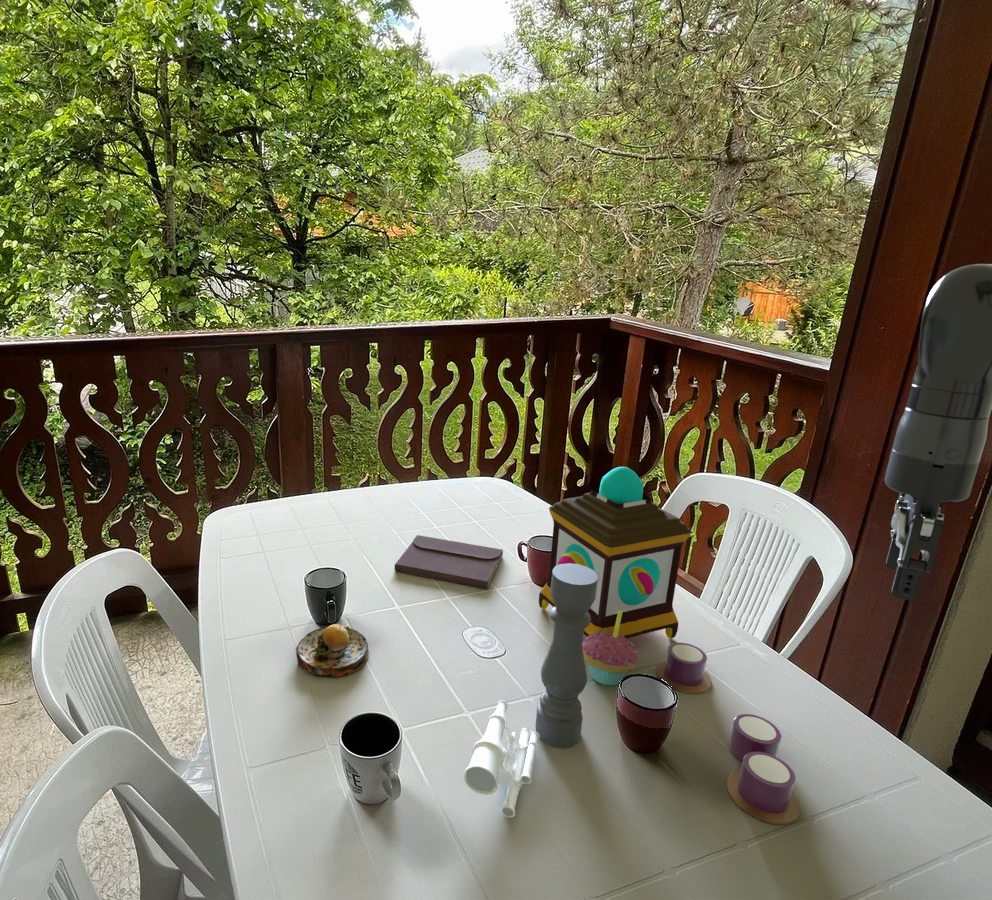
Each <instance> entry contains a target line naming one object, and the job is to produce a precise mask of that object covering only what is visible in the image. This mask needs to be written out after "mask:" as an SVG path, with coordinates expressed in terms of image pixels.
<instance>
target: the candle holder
mask: <svg viewBox="0 0 992 900" xmlns="http://www.w3.org/2000/svg"><path fill="white" fill-rule="evenodd" d="M597 581H598V576H597V573H595V572H594V571H593V570H592V569H590V568H588V567H586V566H583V565H579V564H572V563H566V564H560V565H557V566H555V567H554V569H553V570H552V580H551V590H550V592H551V596H552V600H553V602H554V604H555V607H553V606H552V608H551V609H550V610H549V614H550V620H551V621H552V622H553V633H552V640H551V642H550V645H549V648H548V650H547V653H546V656H545V658H544V660H543V663H542V666H541V668H540V677H541V682H542V684H543V686H544V688H545V691H544V692H543V693H542V694H541V695H540V697H539V703H538V704H537V707H536V714H535V715H536V716H535V725H534V726H535V732H538V733H539V735H540V738H539V740H542V741H543V742H544V743H545V744H546V745H549V746H551V747H553V748H559V749H560V748H561V749H566V748H567V749H568V748H572V747H574V746H575V745H577V744H578V743H579V742H580V739H581V734H582V726H583V719H584V717H583V713H582V710H583V707H582V703H581V701H580V699H579V698H578V697H579V695H581V694H582V693H583V691H584V689H585V688H586V685H587V683H588V675H587V668H586V661H585V660H584V654H583V647H582V645H583V640H584V636H585V635H584V629H585V627H587V626H588V625H589V623H590V622H591V617H590V614H589V613H588V612H587V611H588V609H590V608H591V606H592V604H593V602H594V601H595V598H596V589H597Z"/></svg>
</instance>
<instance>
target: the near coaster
mask: <svg viewBox="0 0 992 900" xmlns="http://www.w3.org/2000/svg"><path fill="white" fill-rule="evenodd" d="M740 771H741V769H738V770H735V771H733V772H731V773H730V774H729V775H728V776H727V779H726V791H727V793H728V795H729V797H730V799H731V800H732V801H733V803H735V804H736V806H737V807H738V808H739V809H741V810H742V811H743V812H745V813H746V814H747V815H749V816H751V817H753V818H755V819H757V820H758V821H761V822H764V823H767V824H772V825H779V826H781V825H782V826H783V825H789V824H792V823H794V822H796V821H797V820H798V819H799V817H800V813H801V805H800V802H799V799H798V798H797V796H796V795H795V793H794V792H793V791H792V795H791V799H790V803H789V807H788V809H787V810H786V811H784V812H782V813H769V812H765V811H762V810H760V809H758V808H756V807H754V806H752V805H751V804H750V803H748V802H747V801H746V800H745V799H744V798H743V797H742V796H741V794H740V792H739V790H738V780H739V776H740Z"/></svg>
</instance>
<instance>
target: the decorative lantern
mask: <svg viewBox="0 0 992 900" xmlns="http://www.w3.org/2000/svg"><path fill="white" fill-rule="evenodd" d="M548 511H549V514H550V516H551V518H552V522H553V529H552V538H551V539H552V540H551V549H550V560H549V570H548V571H549V572H548V579H547V582H546V583H545V584H544V586H543V587H542V588H541V590H540V592H539V595H538V605H539V608H540V609H542V610H546V609H547V608H548V606H549V605H550V606H551V607H552V608H553V607H555V604H554V602H553V600H552V596H551V592H550V590H551V580H552V570H553V569H554V567H555V566H557V565H560V564H566V563H572V564H579V565H583V566H586V567H588V568H590V569H592V570H593V571H594V572H595V573H597V576H598V581H597V589H596V598H595V601H594V602H593V604H592V606H591V608H590V609H588V611H587V612H588V613H589V614H590V617H591V622H590V623H589V625H588V626H587V627H585V629H584V635H583V636H585V637H586V638H587V637H588V636H590V634H593V633H595V632H600V631H601V632H602V631H605V632H614V629H615V624H616V619H617V614H618V610H620V608H621V606H622V610H621V611H622V617H621V622H620V627H619V631H618V634H621V635H622V636H625V638H627V639H630V638H634V637H638V636H641V635H645V634H650V633H653V632H654V633H655V632H658V631H661V630H665V636H666V637H667V638H668V639H674V638H675V637H676V636H677V633H678V629H679V620H678V618H677V615H676V613H675V611H674V607H673V603H674V597H675V591H676V585H677V579H678V573H679V566H680V560H681V555H682V548H683V546H684V543H685V542H687V539H689V537H690V536H691V534H692V529H690V528H689V527H688V525H687V524H686V523H685V522H683V521H681V520H680V518H679V517H678V516H676V515H674V514H672V513H671V512H668V511H666V510H664V509H662V508H660V507H658V505H657V504H656V503H654V502H652V498H651V497H649V496H647V495H645V494H644V484H643V480H642V479H641V478H640V477H639V476H638V474H637V473H636V472H635V471H634V470H632V469H631V468H630V467H627V466H618V467H615V468H613V469H611V470H610V471H608V472H607V473H606V474H605V475H603V476H602V478H601V481H600V484H599V487H597V488H591V489H590V492H587V493H586V492H585V493H584V494H583V495H581V496H575V497H568V498H564V499H562V500H561V501H557V502H555V503H554V504H553V505H550V506H549V507H548Z"/></svg>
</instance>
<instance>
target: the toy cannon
mask: <svg viewBox="0 0 992 900" xmlns="http://www.w3.org/2000/svg"><path fill="white" fill-rule="evenodd" d="M508 707H509V703H507V701H506V700H499V701H498V702H497V706H496V709H495V711H494V712H493V714H491V715H490V716H489V717H488V724H487V728H486V730H485V732H484V735H483V736H482V738H481V739H479V740H478V741H476V742H475V743H474V745H473V747H472V754H473V755H472V756H471V760H470V763H469V765H468V766H467V767H466V769H465V770H464V772H463V780H464V783H465V785H466V786H467V788H469V789H470V790H471V791H473V792H474V793H476V794H479V795H483V796H488V795H492V794H494V793H495V792H496V791H497V789H498V785H499V786H502V787H507V791H506V795H505V800H504V803H503V805H502V807H501V814H502V815H503V816H504V817H506V818H509V819H512V818H514V817H515V815H516V810H515V809H516V805H517V802H518V801H517V800H518V795H519V792H520V790H521V789H522V785H523V784H524V785H530V784H531V783H532V774H533V769H534V764H535V759H536V754H537V750H538V748H539V740H540V735H539V733H538V732H536V730H534V731H532V730H531V729H530V728H529V727H523V728H521V729H520V737H519V740H518V739H517V732H516V731H512V732H511V731H510V730H509V728H508V727H507V724H508V723H507V720H506V713H507V709H508ZM503 737H505V738H506V739H507V741H508V742H509V743H508V746H507V749H505V747H504V746H503V743H502V742H503ZM514 749H515V753H513V750H514ZM512 765H513V766H512ZM510 766H512V770H511V772H510V771H509V767H510Z"/></svg>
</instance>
